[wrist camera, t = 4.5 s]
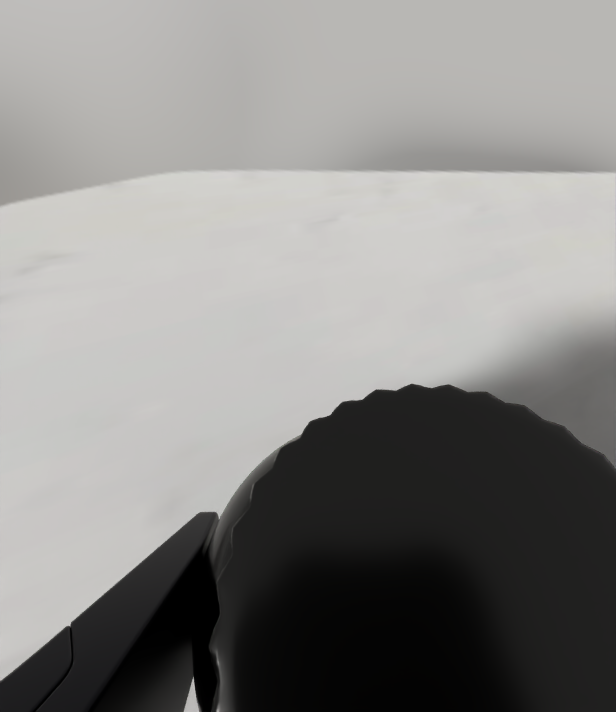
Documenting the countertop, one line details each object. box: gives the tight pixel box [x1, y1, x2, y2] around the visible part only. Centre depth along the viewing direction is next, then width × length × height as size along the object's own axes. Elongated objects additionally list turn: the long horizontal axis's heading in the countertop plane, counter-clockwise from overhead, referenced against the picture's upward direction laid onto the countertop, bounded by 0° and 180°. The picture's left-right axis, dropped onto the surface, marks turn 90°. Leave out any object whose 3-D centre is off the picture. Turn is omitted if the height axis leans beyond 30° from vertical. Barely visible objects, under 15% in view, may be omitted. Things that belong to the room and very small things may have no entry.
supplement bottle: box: [192, 384, 616, 712], centre depth 8 cm, size 7×7×12 cm
